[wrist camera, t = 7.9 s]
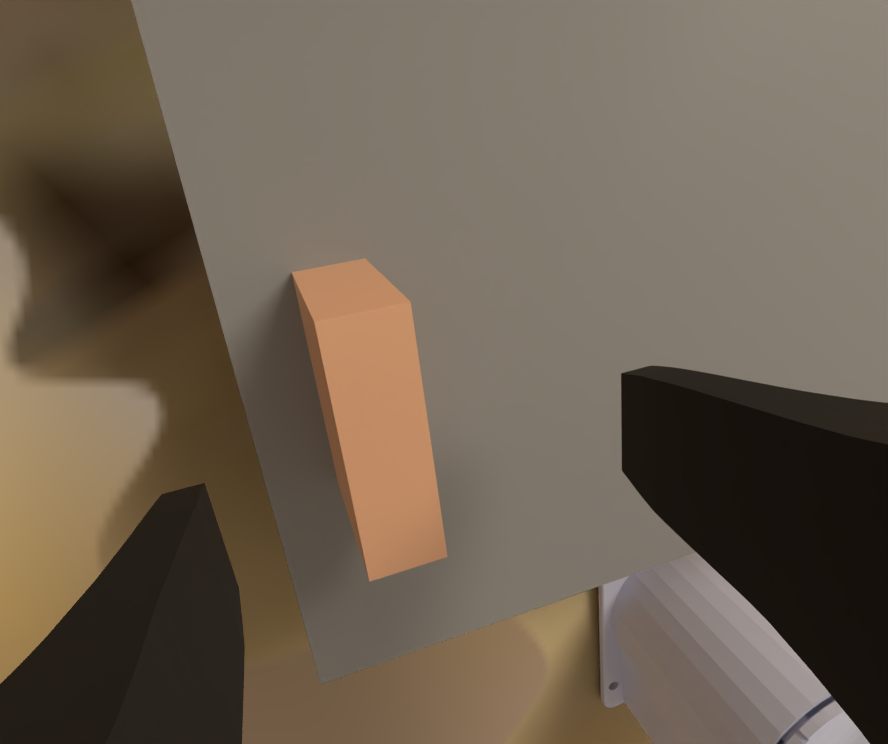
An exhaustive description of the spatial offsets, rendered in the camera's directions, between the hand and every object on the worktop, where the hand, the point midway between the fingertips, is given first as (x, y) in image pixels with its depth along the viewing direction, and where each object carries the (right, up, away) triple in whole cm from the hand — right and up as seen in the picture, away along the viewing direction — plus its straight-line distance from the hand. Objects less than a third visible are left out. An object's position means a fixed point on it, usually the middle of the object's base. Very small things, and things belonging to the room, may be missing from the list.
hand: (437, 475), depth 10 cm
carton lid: (+6, +4, +6) cm, 9 cm away
